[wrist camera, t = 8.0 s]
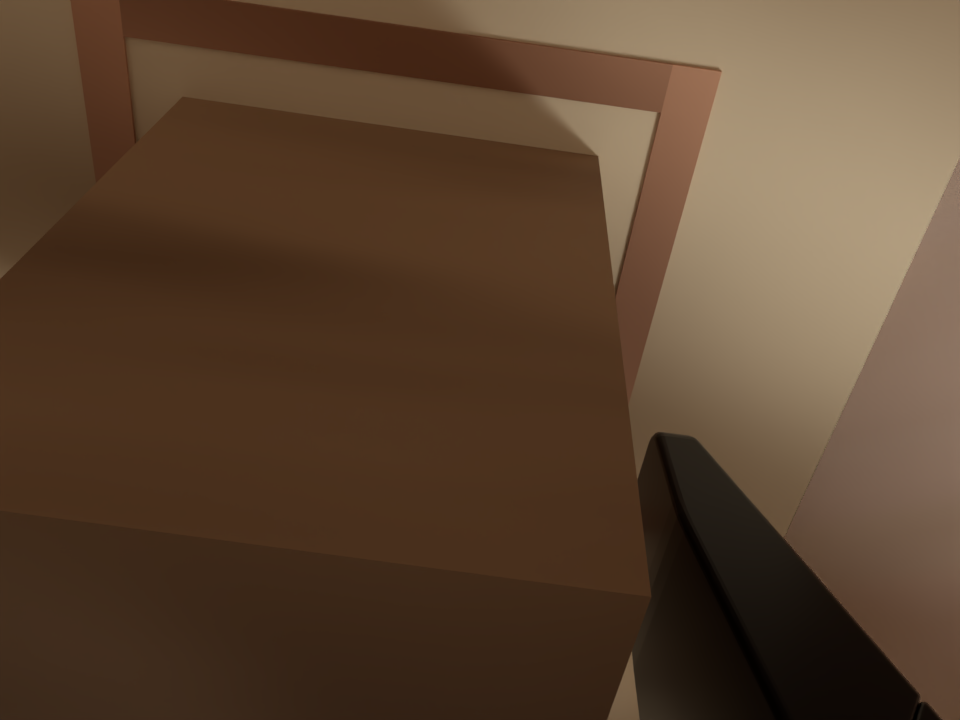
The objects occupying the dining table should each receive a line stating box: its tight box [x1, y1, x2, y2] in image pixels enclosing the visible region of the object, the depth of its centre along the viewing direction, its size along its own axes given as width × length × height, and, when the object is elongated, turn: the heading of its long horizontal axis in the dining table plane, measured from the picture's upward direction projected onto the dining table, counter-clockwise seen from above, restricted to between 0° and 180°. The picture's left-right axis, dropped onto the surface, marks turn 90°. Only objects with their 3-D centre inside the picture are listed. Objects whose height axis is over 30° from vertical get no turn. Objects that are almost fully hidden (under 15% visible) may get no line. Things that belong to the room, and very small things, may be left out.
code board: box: [0, 0, 960, 720], centre depth 16 cm, size 27×12×1 cm, turn 173°
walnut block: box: [0, 97, 651, 720], centre depth 8 cm, size 4×4×6 cm
